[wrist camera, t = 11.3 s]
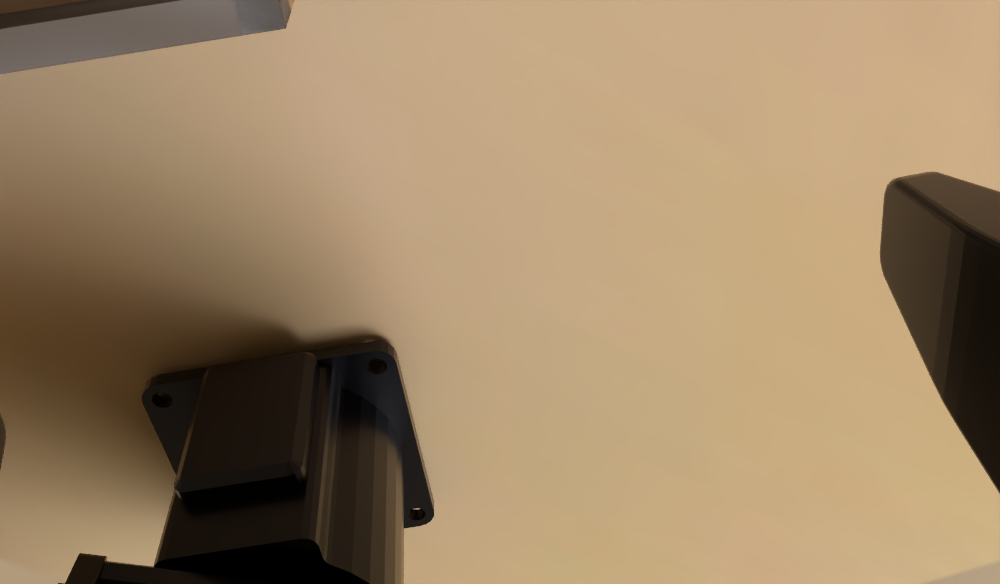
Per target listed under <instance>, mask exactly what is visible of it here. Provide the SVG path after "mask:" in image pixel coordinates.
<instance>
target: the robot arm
mask: <svg viewBox="0 0 1000 584" xmlns="http://www.w3.org/2000/svg"><path fill="white" fill-rule="evenodd" d="M880 262H881V267H882V271H883V275H884V277H885V280H886V282H887V284H888V286H889V288H890V290H891V293H892V295H893V297H894V299H895V301H896V303H897V306H898V308H899V310H900V312H901V314H902V316H903V318H904V321H905V323H906V325H907V327H908V329H909V331H910V334H911V336H912V338H913V340H914V342H915V344H916V346H917V349H918V351H919V353H920V355H921V357H922V359H923V362H924V364H925V366H926V368H927V370H928V372H929V375H930V377H931V379H932V381H933V383H934V385H935V387H936V389H937V391H938V393H939V395H940V397H941V399H942V401H943V403H944V404H945V406H946V408H947V409H948V411H949V413H950V415H951V416H952V418H953V420H954V421H955V423H956V425H957V426H958V428H959V429H960V431H961V433H962V434H963V436H964V437H965V439H966V441H967V442H968V444H969V445H970V447H971V449H972V450H973V452H974V453H975V455H976V457H977V458H978V460H979V461H980V463H981V465H982V466H983V468H984V469H985V471H986V472H987V474H988V476H989V477H990V479H991V480H992V482H993V484H994V485H995V487H996V488H997V490H998V492H999V493H1000V192H999V191H996V190H992V189H989V188H986V187H983V186H980V185H976V184H973V183H970V182H967V181H964V180H960V179H957V178H954V177H951V176H948V175H944V174H941V173H938V172H925V173H920V174H914V175H909V176H904V177H899V178H895V179H893V180H892V181H891V182H890V183H889V184H888V185H887V188H886V191H885V194H884V205H883V218H882V231H881V245H880ZM373 359H382V360H384V361H385V362H384V363H382V364H373V363H371V362H370V360H373ZM159 392H160V393H166V394H168V395H170V396H171V397H162V396H160V395H158V394H157V393H159ZM142 402H143V405H144V407H145V409H146V411H147V413H148V415H149V418H150V420H151V422H152V424H153V426H154V428H155V431H156V433H157V435H158V437H159V439H160V441H161V443H162V446H163V448H164V450H165V452H166V454H167V456H168V458H169V461H170V463H171V465H172V467H173V469H174V471H175V473H176V479H175V482H174V488H175V489H174V493H173V496H172V500H171V504H170V507H169V511H168V515H167V519H166V522H165V526H164V530H163V533H162V537H161V541H160V544H159V548H158V552H157V556H156V559H155V563H154V567H151V566H143V565H134V564H126V563H118V562H109V561H107V556H99V555H91V554H82V553H80V554H79V555H78V558H77V560H76V562H75V564H74V566H73V568H72V570H71V572H70V574H69V576H68V578H67V581H66V583H65V584H404V528H409V527H416V526H421V525H424V524H427V523H428V522H430V521H431V520H432V518H433V517H434V500H433V496H432V492H431V488H430V484H429V480H428V476H427V472H426V468H425V464H424V460H423V456H422V452H421V448H420V444H419V440H418V436H417V432H416V428H415V424H414V420H413V416H412V412H411V408H410V404H409V400H408V396H407V392H406V388H405V384H404V380H403V376H402V372H401V368H400V364H399V361H398V357H397V353H396V351H395V349H394V348H393V347H392V346H391V345H389V344H388V343H384V342H381V341H373V342H367V343H360V344H354V345H347V346H341V347H335V348H328V349H322V350H315V351H309V352H297V353H291V354H284V355H278V356H272V357H265V358H259V359H252V360H246V361H240V362H233V363H227V364H221V365H214V366H211V367H207V368H201V369H194V370H188V371H182V372H175V373H169V374H162V375H158V376H155V377H152V378H151V379H150V380H148V381H147V383H146V386H145V389H144V392H143V395H142ZM5 440H6V430H5V425H4V422H3V419H2V416H1V414H0V468H1V463H2V458H3V452H4V447H5ZM413 508H421V509H419V510H413ZM58 584H63V583H58Z"/></svg>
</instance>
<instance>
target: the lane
mask: <svg viewBox="0 0 1000 584" xmlns="http://www.w3.org/2000/svg"><path fill="white" fill-rule="evenodd" d="M293 3H294V0H0V74H4V73H10V72H16V71H22V70H29V69H35V68H41V67H47V66H54V65H60V64H66V63H73V62H79V61H85V60H91V59H98V58H104V57H110V56H116V55H123V54H129V53H135V52H142V51H148V50H154V49H160V48H167V47H173V46H179V45H185V44H192V43H198V42H204V41H211V40H217V39H223V38H229V37H236V36H242V35H248V34H254V33H261V32H267V31H273V30H280V29H286V26H287V23H288V19H289V16H290V13H291V9H292V6H293Z"/></svg>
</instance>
